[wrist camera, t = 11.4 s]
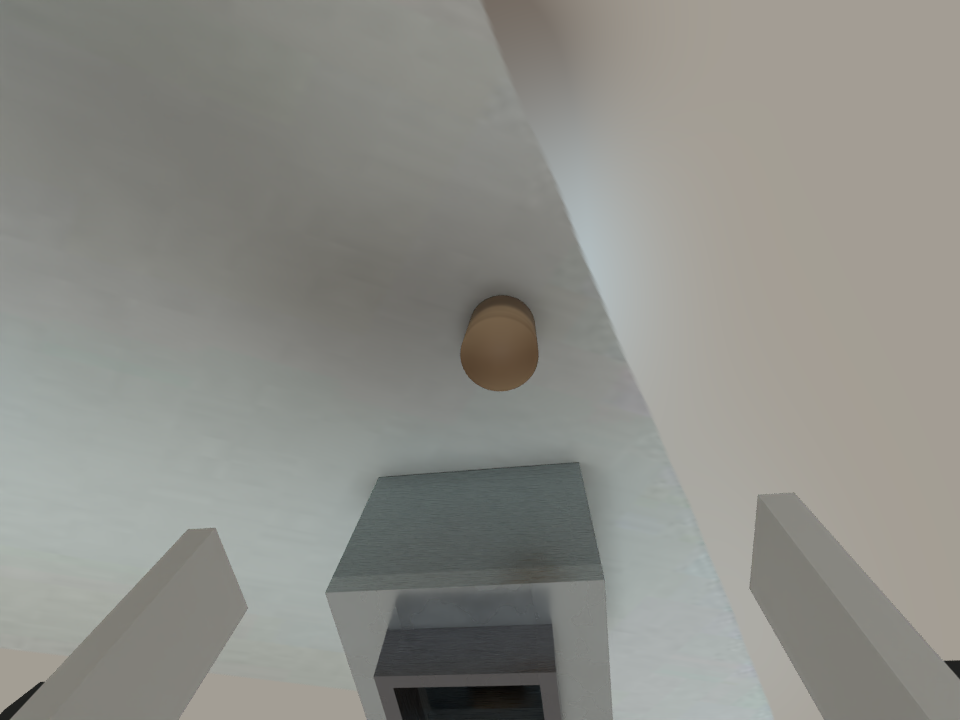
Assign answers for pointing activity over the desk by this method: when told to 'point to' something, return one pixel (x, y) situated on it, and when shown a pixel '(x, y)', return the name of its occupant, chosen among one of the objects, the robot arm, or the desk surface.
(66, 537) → the desk surface
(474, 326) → the pellet
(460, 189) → the desk surface
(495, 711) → the grey block with socket
